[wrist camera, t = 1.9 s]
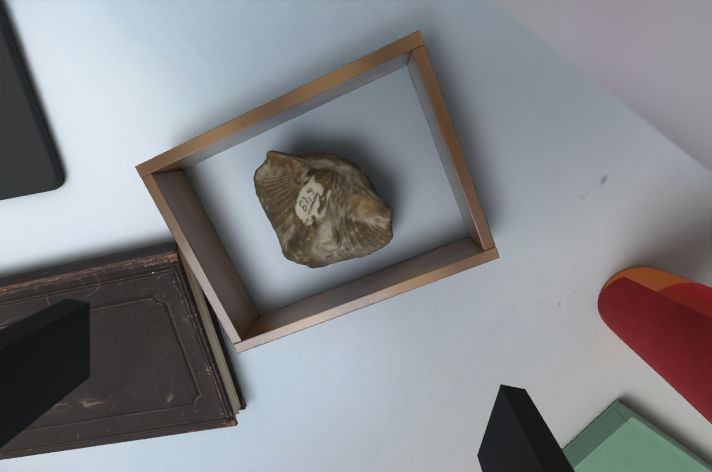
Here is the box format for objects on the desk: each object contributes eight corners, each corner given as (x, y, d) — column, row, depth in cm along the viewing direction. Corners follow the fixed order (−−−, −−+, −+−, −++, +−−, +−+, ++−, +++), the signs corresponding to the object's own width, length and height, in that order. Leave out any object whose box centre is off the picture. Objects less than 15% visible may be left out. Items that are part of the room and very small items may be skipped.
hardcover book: (246, 406, 32) (236, 426, 30) (21, 440, 35) (-3, 460, 32) (189, 236, 28) (173, 244, 26) (-57, 288, 31) (-91, 299, 29)
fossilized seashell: (423, 205, 24) (315, 108, 25) (379, 258, 19) (246, 136, 20) (369, 261, 29) (281, 180, 30) (324, 313, 25) (220, 215, 25)
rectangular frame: (413, 48, 24) (419, 29, 20) (482, 242, 27) (500, 257, 23) (169, 163, 27) (134, 166, 23) (255, 327, 30) (237, 353, 26)
